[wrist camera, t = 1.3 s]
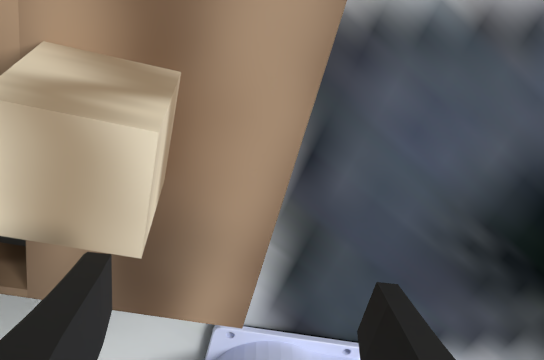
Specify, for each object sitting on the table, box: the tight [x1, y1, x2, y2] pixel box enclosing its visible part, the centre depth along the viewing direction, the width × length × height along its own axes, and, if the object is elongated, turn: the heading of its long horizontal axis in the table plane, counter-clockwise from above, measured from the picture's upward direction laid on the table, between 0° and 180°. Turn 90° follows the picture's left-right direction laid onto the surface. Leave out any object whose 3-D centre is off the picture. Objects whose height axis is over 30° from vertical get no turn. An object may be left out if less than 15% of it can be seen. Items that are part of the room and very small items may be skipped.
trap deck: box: [0, 0, 347, 329], centre depth 18 cm, size 22×20×3 cm
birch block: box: [0, 41, 181, 259], centre depth 15 cm, size 4×4×4 cm
